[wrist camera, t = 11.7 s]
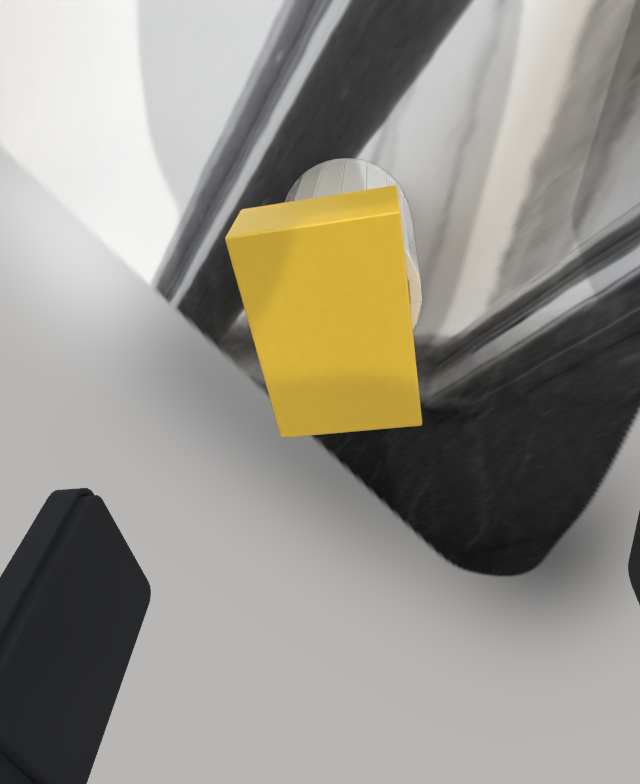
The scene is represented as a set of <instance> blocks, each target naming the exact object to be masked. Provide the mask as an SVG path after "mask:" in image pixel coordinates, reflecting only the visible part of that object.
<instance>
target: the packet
mask: <svg viewBox="0 0 640 784" xmlns="http://www.w3.org/2000/svg"><path fill="white" fill-rule="evenodd" d="M225 241H226V244H227V248H228V251H229V255H230V258H231V262H232V265H233V269H234V272H235V276H236V280H237V283H238V287H239V290H240V294H241V297H242V301H243V304H244V308H245V312H246V315H247V319H248V322H249V326H250V329H251V333H252V336H253V340H254V343H255V347H256V351H257V354H258V358H259V361H260V365H261V368H262V372H263V375H264V379H265V382H266V386H267V390H268V393H269V397H270V400H271V404H272V407H273V411H274V414H275V418H276V421H277V425H278V429H279V432H280V436H281V437H282V438H287V437H298V436H310V435H321V434H332V433H343V432H354V431H365V430H376V429H387V428H399V427H410V426H420V425H422V416H421V407H420V397H419V387H418V377H417V367H416V358H415V348H414V338H413V328H412V319H411V309H410V299H409V289H408V279H407V270H406V260H405V250H404V240H403V230H402V221H401V211H400V201H399V191H398V186H397V185H393V186H387V187H380V188H374V189H368V190H361V191H355V192H349V193H342V194H336V195H330V196H323V197H317V198H311V199H305V200H298V201H292V202H286V203H279V204H273V205H267V206H260V207H254V208H248V209H242V210H241V211H240V213H239V214H238V216H237V218H236V220H235V221H234V223H233V225H232V227H231V229H230V230H229V232H228V234H227V236H226V237H225Z"/></svg>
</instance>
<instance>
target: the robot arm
mask: <svg viewBox="0 0 640 784" xmlns="http://www.w3.org/2000/svg"><path fill="white" fill-rule="evenodd" d="M628 571H629V577H630V581H631V584H632V587H633V589H634V592H635V595H636V597H637V599H638V602H639V604H640V512H639V517H638V521H637V526H636V531H635V535H634V540H633V544H632V549H631V553H630V558H629V564H628ZM150 595H151V590H150V585H149V582H148V580H147V578H146V577H145V575H144V573H143V571H142V570H141V568H140V566H139V564H138V563H137V561H136V559H135V557H134V555H133V553H132V552H131V550H130V548H129V546H128V545H127V543H126V541H125V539H124V538H123V536H122V534H121V532H120V530H119V529H118V527H117V525H116V523H115V522H114V520H113V518H112V516H111V514H110V512H109V511H108V509H107V507H106V505H105V504H104V502H103V500H102V499H101V497H99V496H97V495H96V496H95V495H94V494H93V492H92V491H91V490H89V489H88V488H80V489H67V490H56V491H54V492H53V493H51V495H50V496H49V497H48V499H47V500H46V502H45V504H44V505H43V507H42V509H41V510H40V512H39V514H38V515H37V517H36V519H35V520H34V522H33V524H32V525H31V527H30V529H29V530H28V532H27V534H26V535H25V537H24V539H23V540H22V542H21V544H20V545H19V547H18V549H17V550H16V552H15V554H14V555H13V557H12V559H11V560H10V562H9V564H8V565H7V567H6V569H5V570H4V572H3V574H2V575H1V577H0V784H86V783H87V781H88V778H89V775H90V772H91V769H92V766H93V764H94V761H95V758H96V755H97V752H98V749H99V746H100V743H101V741H102V738H103V735H104V732H105V729H106V726H107V723H108V720H109V717H110V715H111V712H112V709H113V706H114V703H115V700H116V697H117V694H118V692H119V689H120V686H121V683H122V680H123V677H124V674H125V671H126V668H127V666H128V663H129V660H130V657H131V654H132V651H133V648H134V645H135V643H136V640H137V637H138V634H139V631H140V628H141V625H142V622H143V620H144V617H145V614H146V611H147V608H148V605H149V602H150Z"/></svg>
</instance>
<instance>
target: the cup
mask: <svg viewBox="0 0 640 784" xmlns="http://www.w3.org/2000/svg"><path fill="white" fill-rule="evenodd" d="M393 185H397V186H398V191H399V201H400V211H401V221H402V230H403V240H404V250H405V260H406V270H407V279H408V289H409V299H410V309H411V319H412V328H413V329H414V328H415V325H416V324H417V320H418V316H419V313H420V309H421V305H422V293H421V282H420V274H419V267H418V260H417V253H416V246H415V239H414V232H413V225H412V218H411V211H410V208H409V205H408V202H407V199H406V197H405V195H404V192H403V191H402V189H401V188H400V186H399V184H398V183H397V182H396V181H395V180H394V179H393V178H392V177H391V176H390V175H389V174H388V173H387V172H386V171H384V170H383V169H381V168H380V167H378V166H376V165H374V164H372V163H369V162H366V161H363V160H358V159H350V158H341V159H333V160H329V161H325V162H323V163H320V164H318V165H316V166H314V167H312V168H311V169H309V170H308V171H306V172H305V173H304V174H303V175H302V176H301V177H300V178H299V179H298V180H297V181H296V182H295V183H294V185H293V186H292V187H291V189H290V191H289V192H288V194H287V196H286V199H285V201H284V203H286V202H292V201H298V200H305V199H311V198H317V197H323V196H330V195H336V194H342V193H349V192H355V191H361V190H368V189H374V188H380V187H387V186H393Z"/></svg>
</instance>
